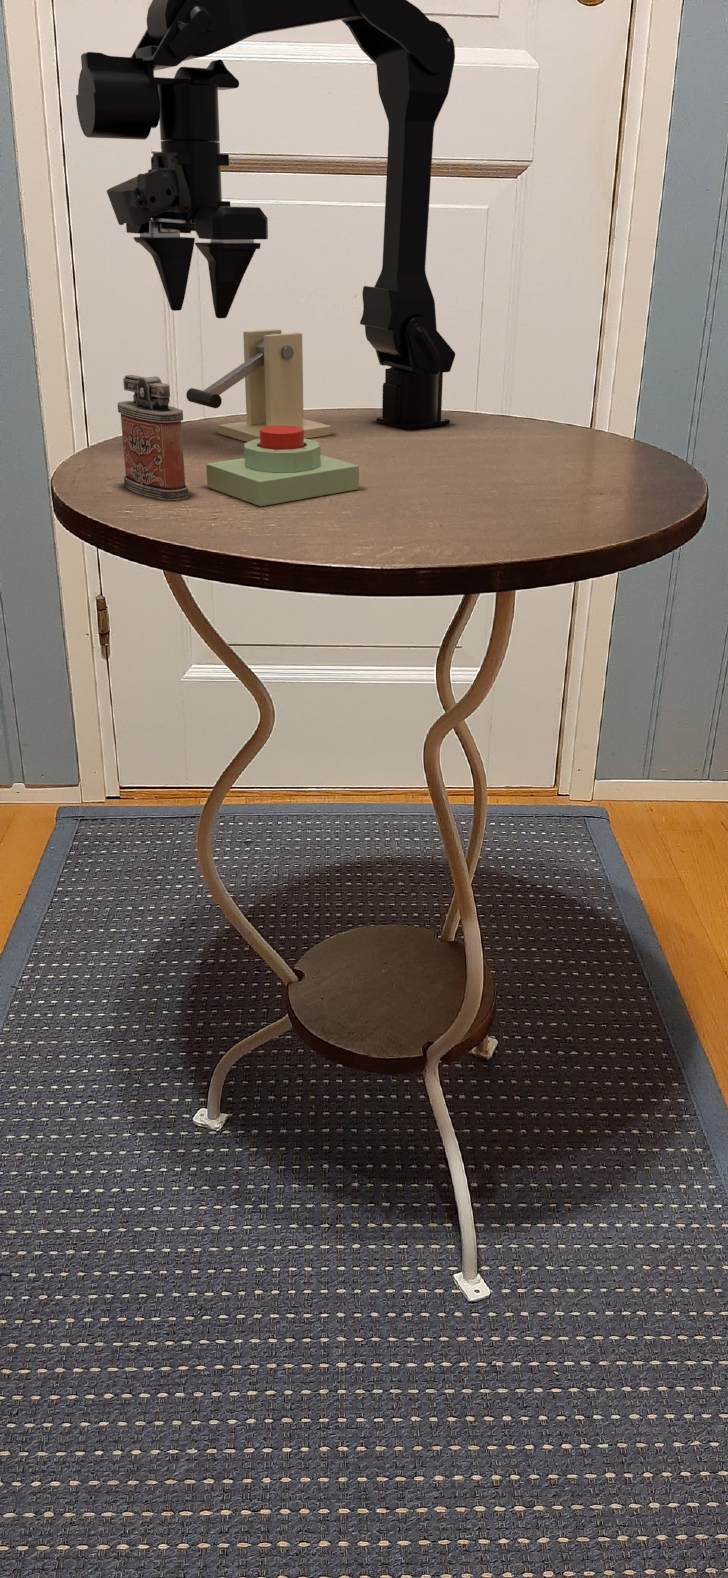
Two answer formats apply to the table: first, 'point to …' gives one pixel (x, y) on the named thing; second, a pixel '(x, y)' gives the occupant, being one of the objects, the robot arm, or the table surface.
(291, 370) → the bracket
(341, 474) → the button box
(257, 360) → the lever
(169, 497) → the lighter
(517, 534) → the table surface
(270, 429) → the button
